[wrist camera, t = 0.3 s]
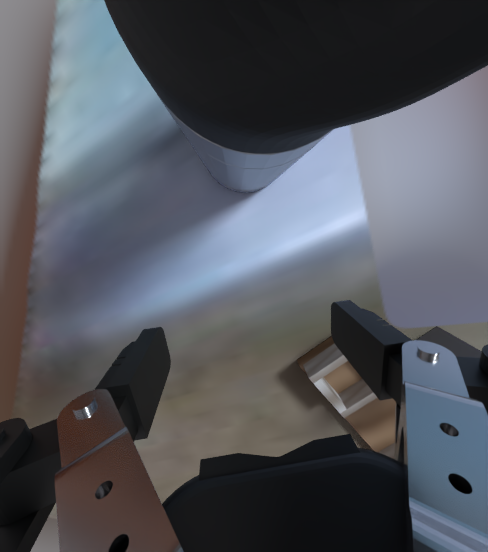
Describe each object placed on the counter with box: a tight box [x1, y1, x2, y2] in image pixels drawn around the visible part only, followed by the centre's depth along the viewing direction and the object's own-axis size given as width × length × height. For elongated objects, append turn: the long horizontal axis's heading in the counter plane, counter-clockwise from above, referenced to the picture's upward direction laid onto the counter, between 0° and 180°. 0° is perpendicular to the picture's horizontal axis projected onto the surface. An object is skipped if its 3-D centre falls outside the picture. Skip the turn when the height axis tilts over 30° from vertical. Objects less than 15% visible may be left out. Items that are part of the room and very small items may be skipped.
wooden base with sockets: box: [297, 336, 396, 459], centre depth 32 cm, size 28×9×4 cm, turn 39°
